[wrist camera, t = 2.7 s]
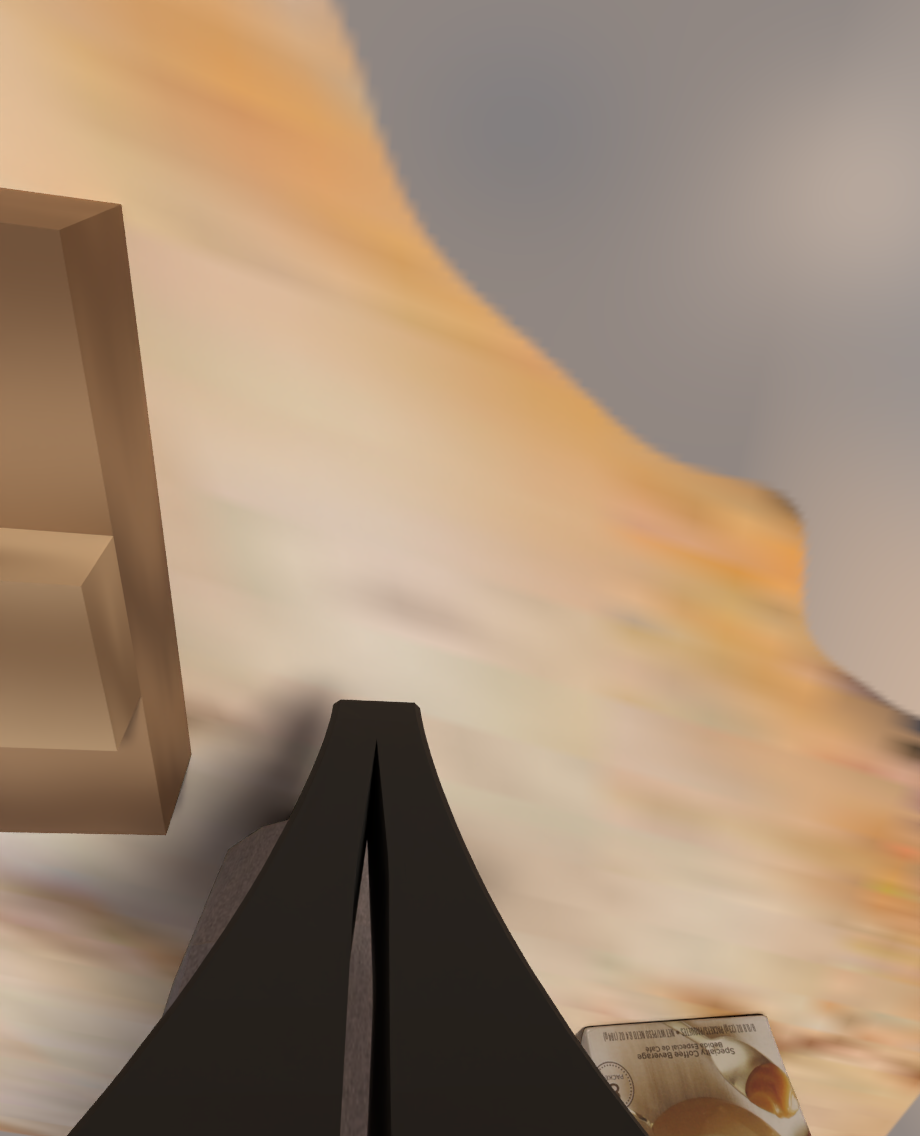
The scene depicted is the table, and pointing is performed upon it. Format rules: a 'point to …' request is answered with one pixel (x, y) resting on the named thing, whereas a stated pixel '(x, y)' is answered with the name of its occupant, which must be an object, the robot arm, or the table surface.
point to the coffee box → (699, 1076)
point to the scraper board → (80, 537)
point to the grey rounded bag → (230, 893)
